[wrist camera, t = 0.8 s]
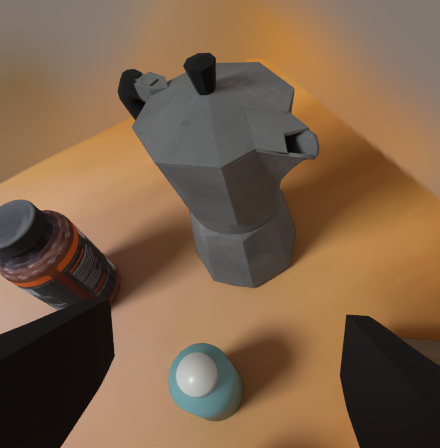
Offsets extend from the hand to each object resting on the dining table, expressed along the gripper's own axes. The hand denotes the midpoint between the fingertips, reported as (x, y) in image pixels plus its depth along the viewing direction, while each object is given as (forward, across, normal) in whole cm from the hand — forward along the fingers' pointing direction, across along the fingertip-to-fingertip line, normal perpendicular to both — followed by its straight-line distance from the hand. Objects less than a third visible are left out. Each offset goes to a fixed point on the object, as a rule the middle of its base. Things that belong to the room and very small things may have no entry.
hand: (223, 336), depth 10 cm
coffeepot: (+22, +1, +4) cm, 22 cm away
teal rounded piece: (+12, +2, +12) cm, 17 cm away
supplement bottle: (+19, +14, +8) cm, 25 cm away
